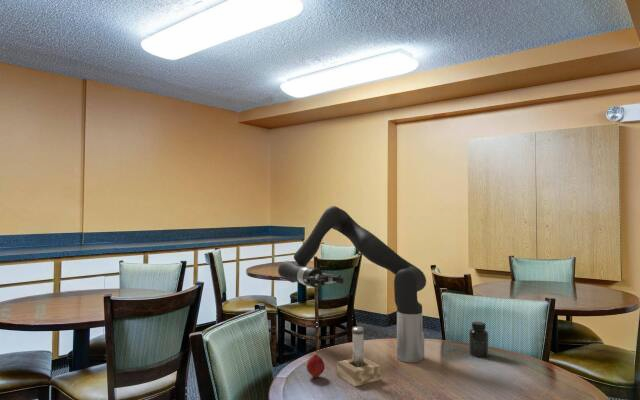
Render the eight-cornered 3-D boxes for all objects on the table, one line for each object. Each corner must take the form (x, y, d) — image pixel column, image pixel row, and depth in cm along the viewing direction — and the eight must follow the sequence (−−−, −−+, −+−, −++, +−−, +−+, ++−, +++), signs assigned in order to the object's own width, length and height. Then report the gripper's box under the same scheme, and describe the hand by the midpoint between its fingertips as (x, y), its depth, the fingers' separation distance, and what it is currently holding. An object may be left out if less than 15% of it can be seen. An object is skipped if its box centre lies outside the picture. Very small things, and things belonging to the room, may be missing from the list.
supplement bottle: (472, 350, 163) (472, 319, 163) (490, 354, 159) (490, 322, 159) (466, 355, 157) (466, 323, 158) (485, 359, 153) (485, 326, 154)
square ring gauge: (361, 369, 142) (361, 356, 142) (380, 379, 134) (380, 365, 134) (337, 375, 137) (337, 361, 137) (354, 386, 128) (354, 371, 129)
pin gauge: (359, 371, 138) (359, 325, 139) (366, 375, 135) (366, 328, 135) (349, 373, 136) (349, 327, 137) (356, 377, 133) (356, 330, 133)
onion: (326, 375, 137) (326, 351, 137) (321, 382, 131) (321, 356, 132) (310, 373, 139) (310, 349, 139) (303, 379, 133) (304, 354, 134)
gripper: (295, 268, 165) (317, 273, 152) (324, 266, 173) (348, 270, 160) (295, 287, 165) (317, 293, 151) (324, 284, 173) (348, 290, 159)
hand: (333, 281), depth 156 cm, fingers open, 8 cm apart
